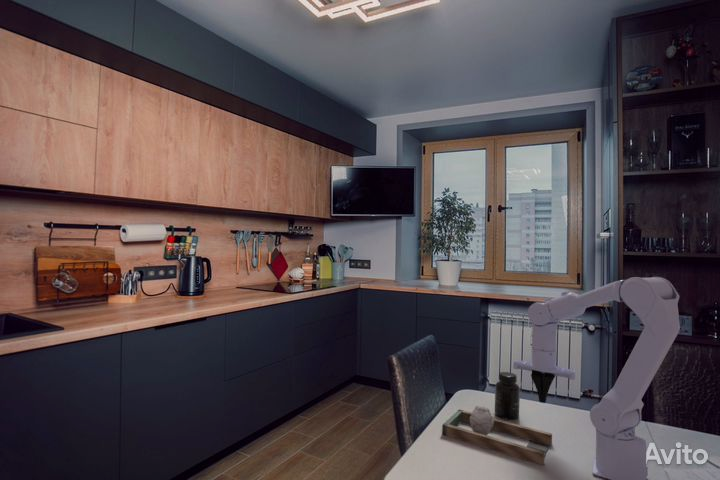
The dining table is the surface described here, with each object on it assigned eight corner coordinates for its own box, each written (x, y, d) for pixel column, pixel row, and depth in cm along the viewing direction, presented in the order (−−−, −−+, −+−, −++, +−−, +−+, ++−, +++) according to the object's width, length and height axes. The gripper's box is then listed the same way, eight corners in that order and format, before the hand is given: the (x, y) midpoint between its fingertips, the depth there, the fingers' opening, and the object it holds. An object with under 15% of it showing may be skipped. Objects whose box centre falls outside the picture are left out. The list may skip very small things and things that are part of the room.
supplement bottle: (521, 421, 112) (522, 379, 113) (496, 418, 114) (497, 376, 114) (516, 411, 119) (517, 371, 119) (493, 409, 120) (494, 369, 121)
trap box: (551, 443, 100) (552, 433, 100) (543, 465, 90) (543, 454, 90) (458, 418, 113) (459, 409, 113) (442, 434, 103) (442, 424, 103)
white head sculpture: (495, 432, 105) (496, 405, 105) (490, 443, 99) (490, 415, 99) (472, 426, 108) (473, 401, 108) (465, 437, 102) (466, 409, 102)
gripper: (577, 350, 103) (576, 403, 102) (518, 341, 111) (516, 390, 110) (574, 356, 97) (572, 412, 96) (511, 346, 105) (510, 398, 105)
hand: (542, 401), depth 103 cm, fingers closed
